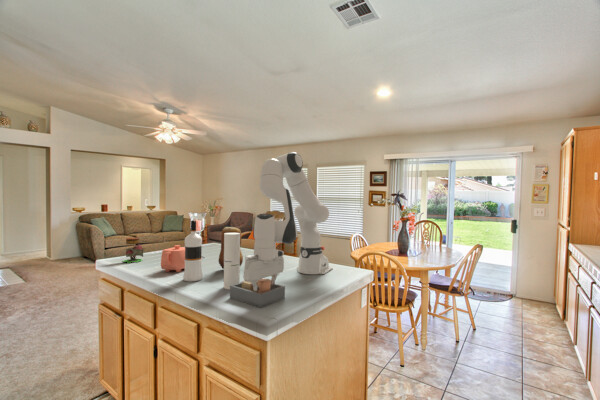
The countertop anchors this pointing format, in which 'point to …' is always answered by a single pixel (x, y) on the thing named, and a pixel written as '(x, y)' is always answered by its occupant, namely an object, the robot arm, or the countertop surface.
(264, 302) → the tote
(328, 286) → the countertop surface
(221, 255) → the butternut squash
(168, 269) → the teapot
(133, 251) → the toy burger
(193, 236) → the vodka
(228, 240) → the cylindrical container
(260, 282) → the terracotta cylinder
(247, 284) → the oak cube
